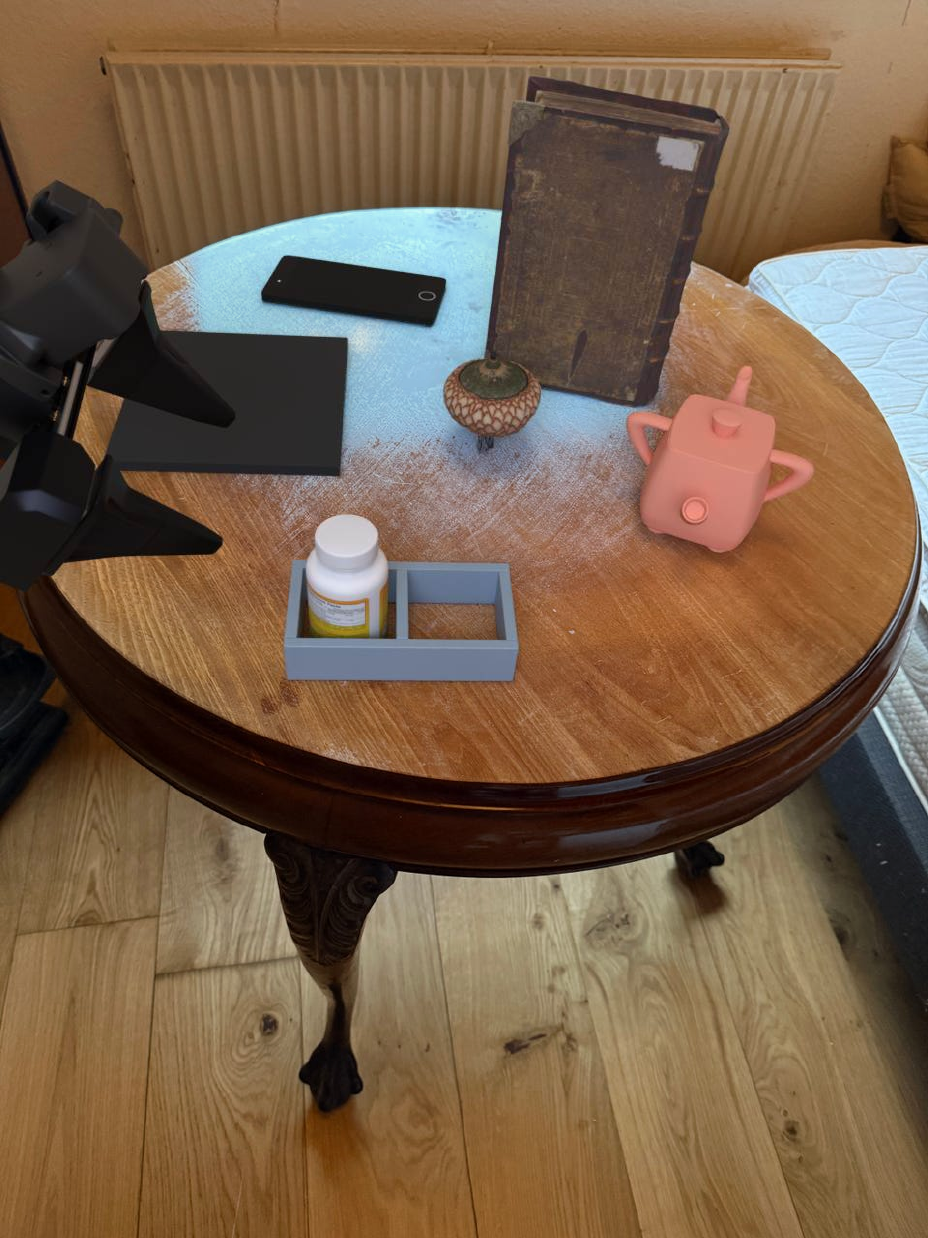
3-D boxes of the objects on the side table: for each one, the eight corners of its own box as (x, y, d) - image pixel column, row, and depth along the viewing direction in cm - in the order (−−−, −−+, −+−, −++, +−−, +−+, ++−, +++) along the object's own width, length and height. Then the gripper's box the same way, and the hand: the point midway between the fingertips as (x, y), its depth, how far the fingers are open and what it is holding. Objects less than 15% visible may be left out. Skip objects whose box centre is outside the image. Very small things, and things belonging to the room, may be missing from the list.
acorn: (507, 415, 85) (520, 316, 77) (548, 469, 80) (566, 368, 72) (424, 432, 82) (429, 330, 75) (461, 489, 77) (470, 386, 70)
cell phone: (432, 327, 94) (433, 319, 93) (259, 301, 95) (258, 293, 94) (446, 285, 100) (447, 277, 99) (284, 261, 101) (283, 253, 100)
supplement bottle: (354, 596, 68) (352, 494, 61) (403, 638, 66) (407, 537, 58) (295, 632, 65) (285, 530, 58) (344, 677, 63) (340, 576, 56)
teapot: (800, 565, 74) (848, 463, 66) (666, 588, 71) (700, 484, 64) (718, 456, 83) (752, 357, 76) (596, 473, 80) (619, 371, 73)
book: (662, 385, 90) (736, 108, 72) (648, 424, 85) (724, 140, 67) (499, 344, 93) (531, 68, 74) (477, 380, 88) (505, 95, 70)
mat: (105, 470, 75) (102, 460, 75) (148, 338, 89) (147, 329, 88) (339, 476, 77) (339, 466, 76) (347, 346, 91) (347, 337, 90)
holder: (286, 680, 62) (283, 646, 60) (295, 593, 68) (292, 559, 65) (513, 681, 64) (519, 648, 61) (503, 596, 69) (508, 563, 67)
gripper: (-106, 321, 29) (312, 527, 38) (19, 61, 40) (318, 268, 49) (-201, 518, 35) (177, 656, 44) (-70, 246, 46) (210, 399, 55)
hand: (226, 480), depth 48 cm, fingers open, 9 cm apart
